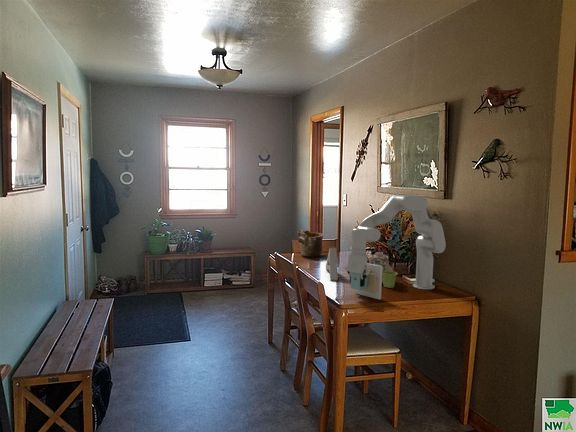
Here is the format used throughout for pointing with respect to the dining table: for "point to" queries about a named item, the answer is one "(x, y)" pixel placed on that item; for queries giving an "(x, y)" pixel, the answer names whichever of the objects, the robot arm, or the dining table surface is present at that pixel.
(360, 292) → the wall board
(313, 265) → the dining table surface
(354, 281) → the teal cabinet
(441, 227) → the robot arm
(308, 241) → the ceramic vessel
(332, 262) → the wall bracket
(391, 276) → the plant pot
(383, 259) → the decorative jar
